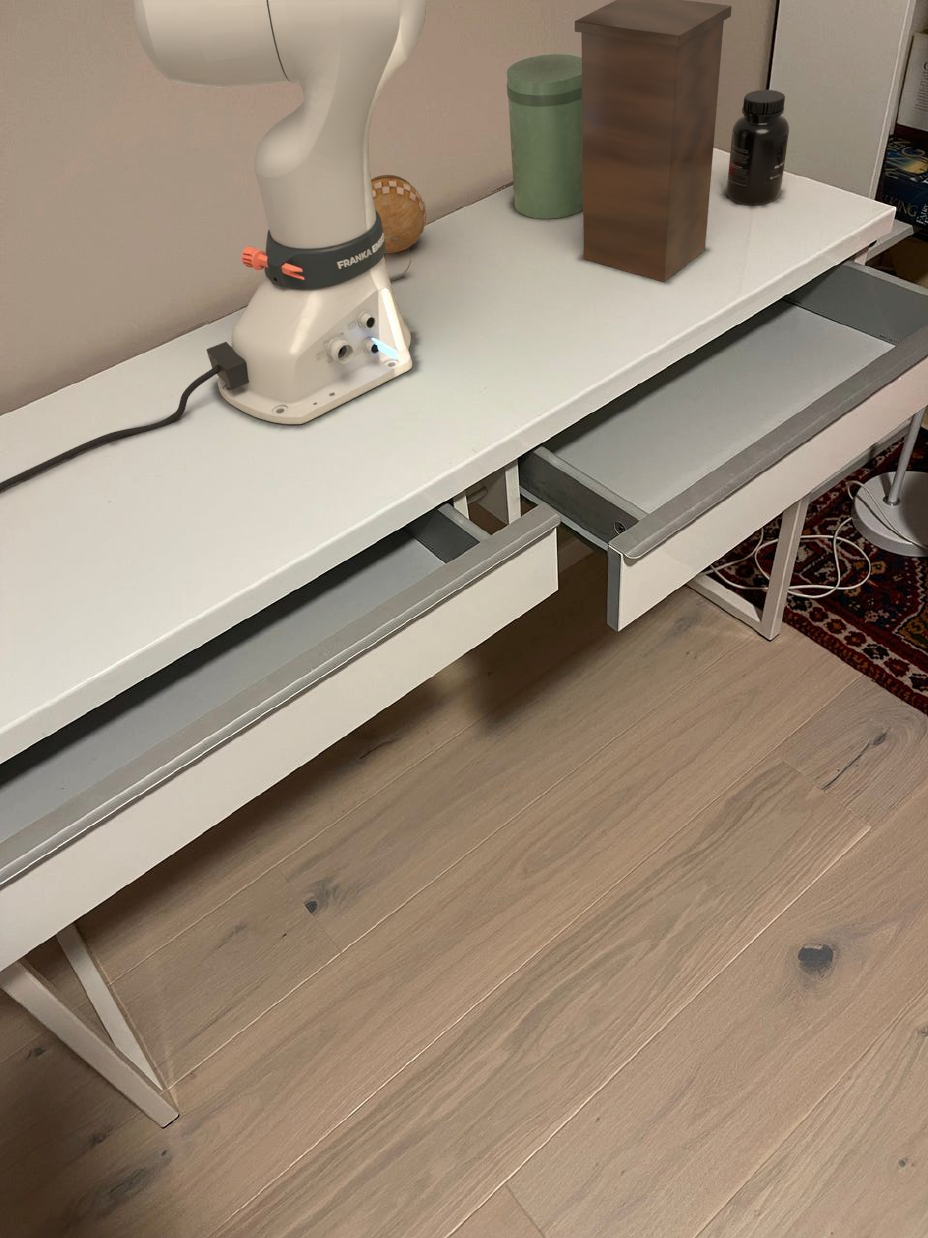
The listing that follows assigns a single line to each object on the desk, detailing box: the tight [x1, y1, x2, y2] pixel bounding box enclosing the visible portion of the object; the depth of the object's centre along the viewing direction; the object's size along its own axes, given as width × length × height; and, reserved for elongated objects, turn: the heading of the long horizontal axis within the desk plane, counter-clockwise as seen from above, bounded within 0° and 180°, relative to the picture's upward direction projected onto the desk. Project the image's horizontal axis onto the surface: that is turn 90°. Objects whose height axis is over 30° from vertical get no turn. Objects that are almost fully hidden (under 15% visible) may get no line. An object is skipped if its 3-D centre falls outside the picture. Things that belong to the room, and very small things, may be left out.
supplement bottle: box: [726, 89, 790, 206], centre depth 125 cm, size 7×7×12 cm
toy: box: [371, 174, 427, 282], centre depth 123 cm, size 9×9×15 cm
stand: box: [574, 0, 733, 283], centre depth 112 cm, size 10×12×26 cm
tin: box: [506, 53, 583, 220], centre depth 127 cm, size 10×10×16 cm
